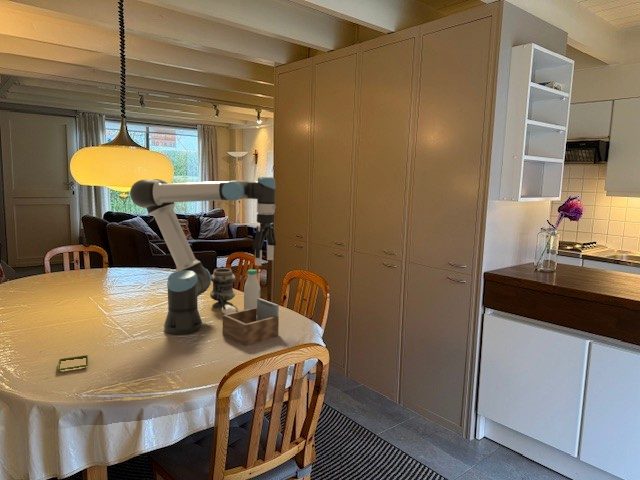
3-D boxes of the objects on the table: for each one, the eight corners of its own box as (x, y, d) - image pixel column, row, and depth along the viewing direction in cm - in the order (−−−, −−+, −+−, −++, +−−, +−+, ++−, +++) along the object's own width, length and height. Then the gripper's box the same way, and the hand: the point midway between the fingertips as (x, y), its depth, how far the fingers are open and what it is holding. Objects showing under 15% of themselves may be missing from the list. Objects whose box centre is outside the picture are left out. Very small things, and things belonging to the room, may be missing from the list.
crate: (245, 345, 166) (245, 325, 165) (222, 334, 178) (222, 315, 177) (278, 335, 177) (278, 316, 176) (255, 325, 189) (255, 307, 188)
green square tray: (88, 360, 151) (88, 354, 151) (88, 370, 143) (88, 364, 143) (59, 365, 147) (58, 359, 147) (57, 375, 139) (57, 369, 139)
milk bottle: (257, 314, 204) (257, 272, 201) (241, 313, 205) (241, 271, 202) (262, 309, 211) (262, 269, 208) (247, 308, 213) (247, 268, 210)
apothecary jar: (227, 310, 209) (226, 273, 206) (205, 307, 213) (204, 271, 210) (239, 303, 220) (239, 268, 218) (218, 301, 224) (218, 266, 221)
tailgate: (275, 329, 178) (275, 305, 177) (256, 321, 187) (256, 298, 186) (278, 328, 179) (278, 304, 178) (259, 320, 188) (259, 298, 187)
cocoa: (236, 317, 200) (237, 291, 199) (240, 321, 195) (241, 294, 194) (215, 318, 196) (216, 292, 195) (218, 322, 191) (219, 295, 190)
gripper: (262, 216, 174) (261, 268, 177) (284, 212, 198) (282, 258, 201) (245, 215, 176) (244, 267, 179) (268, 211, 200) (267, 256, 203)
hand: (264, 262), depth 190 cm, fingers open, 13 cm apart
